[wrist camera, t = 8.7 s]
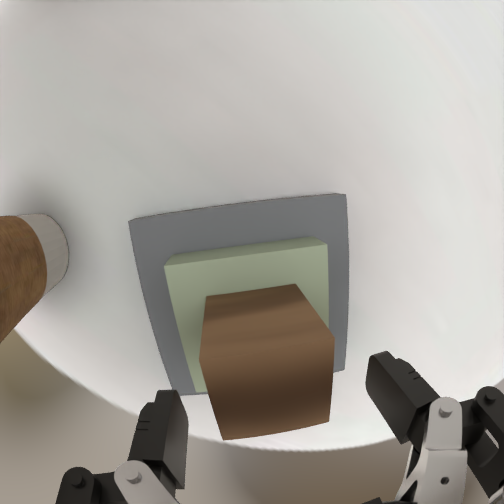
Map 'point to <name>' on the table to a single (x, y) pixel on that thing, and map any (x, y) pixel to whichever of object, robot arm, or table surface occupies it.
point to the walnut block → (266, 362)
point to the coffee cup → (28, 264)
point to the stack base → (232, 232)
